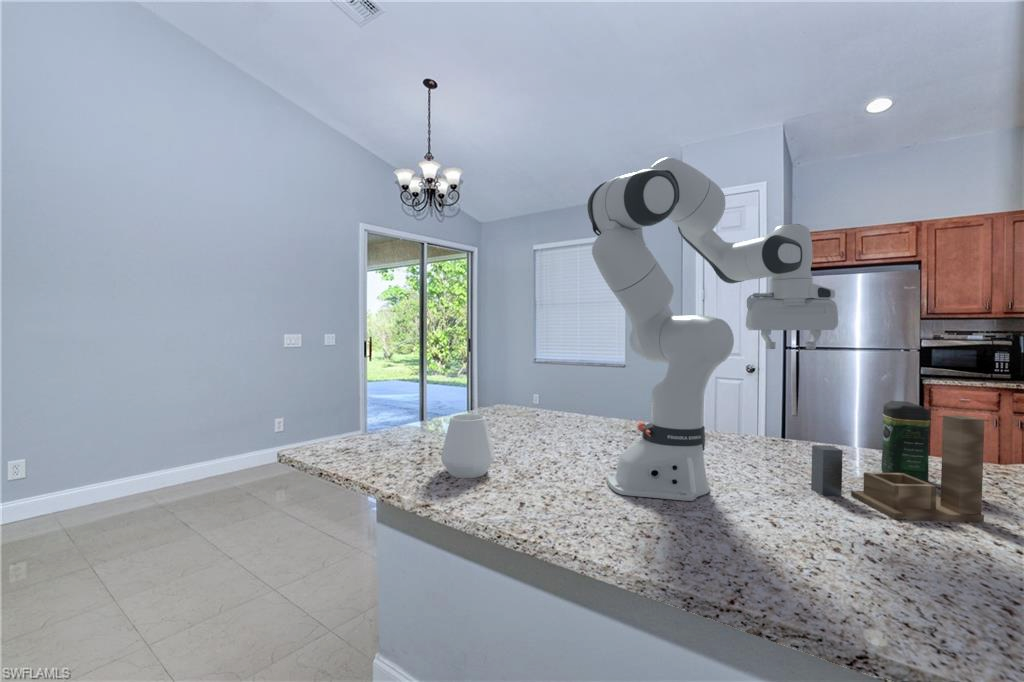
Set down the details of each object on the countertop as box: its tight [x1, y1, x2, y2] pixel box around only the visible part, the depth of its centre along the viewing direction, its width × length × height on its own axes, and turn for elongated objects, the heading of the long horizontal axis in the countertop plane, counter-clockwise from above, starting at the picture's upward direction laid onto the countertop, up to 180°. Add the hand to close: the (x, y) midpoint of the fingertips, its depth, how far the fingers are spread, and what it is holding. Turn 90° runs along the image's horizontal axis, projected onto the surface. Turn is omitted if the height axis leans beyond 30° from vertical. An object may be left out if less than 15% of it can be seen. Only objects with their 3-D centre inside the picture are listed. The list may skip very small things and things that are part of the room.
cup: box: [440, 413, 496, 479], centre depth 113 cm, size 13×13×14 cm
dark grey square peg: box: [810, 444, 844, 497], centre depth 100 cm, size 4×4×10 cm
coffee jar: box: [880, 400, 931, 483], centre depth 110 cm, size 10×8×19 cm
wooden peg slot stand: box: [850, 414, 986, 523], centre depth 91 cm, size 16×12×19 cm
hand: (790, 349), depth 111 cm, fingers open, 8 cm apart
